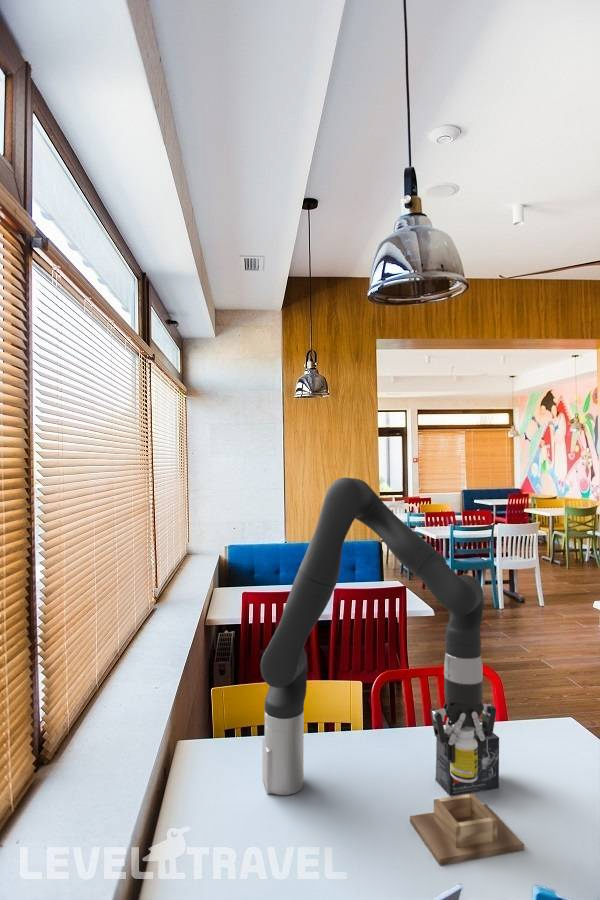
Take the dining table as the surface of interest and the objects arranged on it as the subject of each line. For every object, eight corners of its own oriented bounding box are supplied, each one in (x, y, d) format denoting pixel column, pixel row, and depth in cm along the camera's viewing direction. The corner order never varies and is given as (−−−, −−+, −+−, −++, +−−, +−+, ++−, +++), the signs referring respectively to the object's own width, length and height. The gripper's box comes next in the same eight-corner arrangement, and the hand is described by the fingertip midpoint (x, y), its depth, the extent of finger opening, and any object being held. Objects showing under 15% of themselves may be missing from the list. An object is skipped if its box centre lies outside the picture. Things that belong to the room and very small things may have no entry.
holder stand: (439, 865, 104) (439, 837, 104) (409, 821, 116) (409, 796, 116) (523, 850, 108) (523, 822, 108) (486, 809, 120) (486, 785, 121)
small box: (450, 797, 125) (449, 744, 125) (434, 781, 131) (434, 730, 132) (500, 788, 128) (500, 736, 129) (483, 772, 135) (482, 723, 135)
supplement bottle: (479, 785, 109) (479, 735, 109) (451, 782, 110) (450, 732, 110) (476, 770, 114) (476, 722, 115) (449, 767, 116) (449, 720, 116)
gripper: (440, 685, 108) (440, 773, 107) (505, 678, 111) (506, 764, 111) (422, 671, 115) (423, 754, 114) (484, 665, 118) (485, 745, 118)
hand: (464, 758), depth 112 cm, fingers closed on supplement bottle, 5 cm apart
